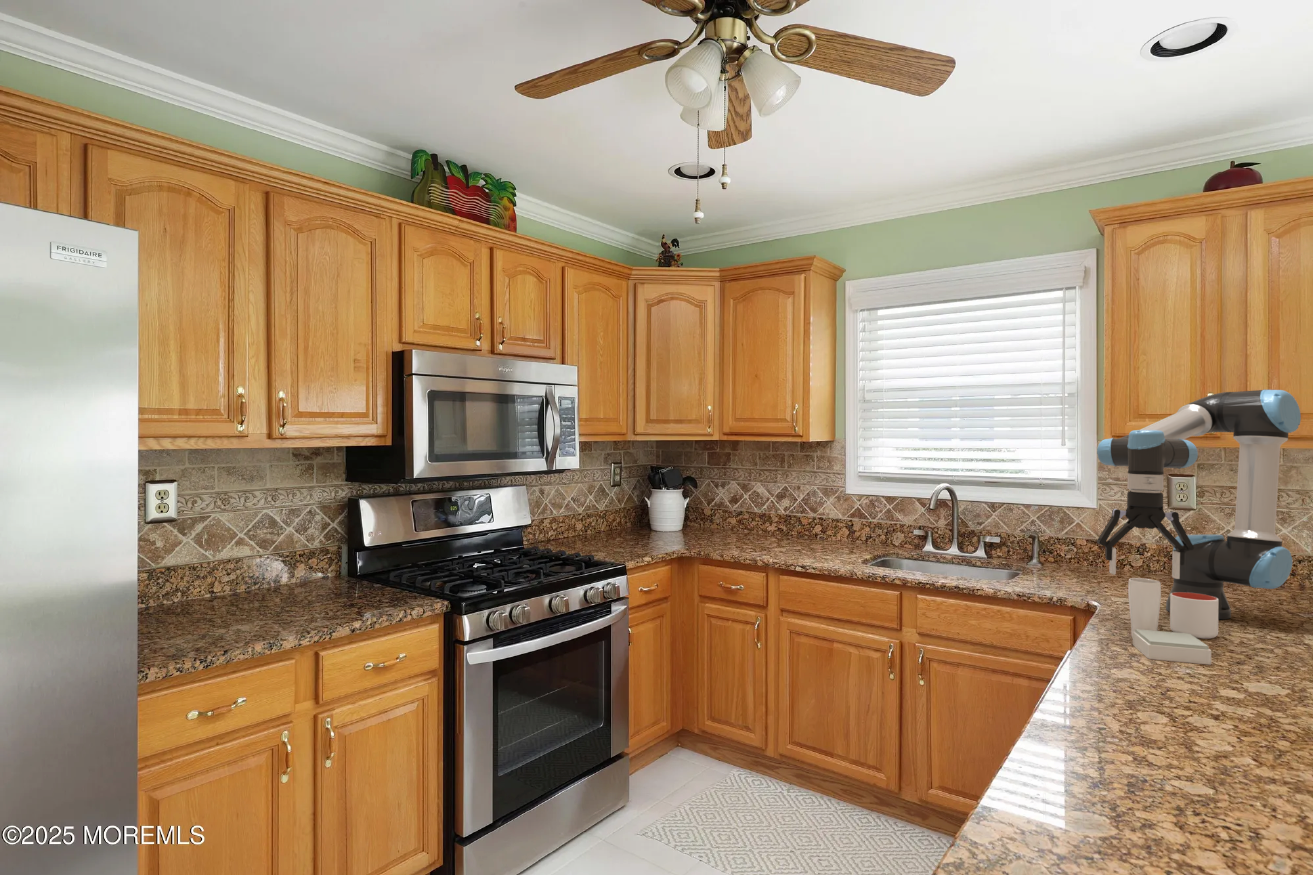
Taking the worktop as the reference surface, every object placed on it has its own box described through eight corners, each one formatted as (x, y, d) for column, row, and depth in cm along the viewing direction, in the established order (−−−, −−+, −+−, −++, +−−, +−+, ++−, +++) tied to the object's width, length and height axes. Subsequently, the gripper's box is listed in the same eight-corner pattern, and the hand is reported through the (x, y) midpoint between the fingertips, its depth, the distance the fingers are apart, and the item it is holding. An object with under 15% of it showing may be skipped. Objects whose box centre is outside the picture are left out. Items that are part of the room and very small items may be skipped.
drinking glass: (1150, 645, 175) (1151, 584, 175) (1122, 638, 181) (1122, 579, 181) (1166, 641, 178) (1166, 581, 178) (1137, 635, 184) (1138, 577, 184)
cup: (1226, 641, 179) (1227, 601, 179) (1182, 638, 181) (1182, 599, 181) (1204, 630, 189) (1205, 593, 189) (1162, 628, 191) (1162, 591, 191)
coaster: (1190, 650, 171) (1191, 633, 171) (1211, 664, 160) (1211, 646, 160) (1132, 644, 175) (1132, 628, 175) (1148, 658, 164) (1148, 641, 164)
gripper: (1092, 490, 180) (1090, 574, 180) (1210, 494, 172) (1209, 582, 172) (1085, 488, 187) (1083, 569, 187) (1198, 492, 179) (1197, 577, 179)
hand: (1143, 575), depth 179 cm, fingers open, 13 cm apart
